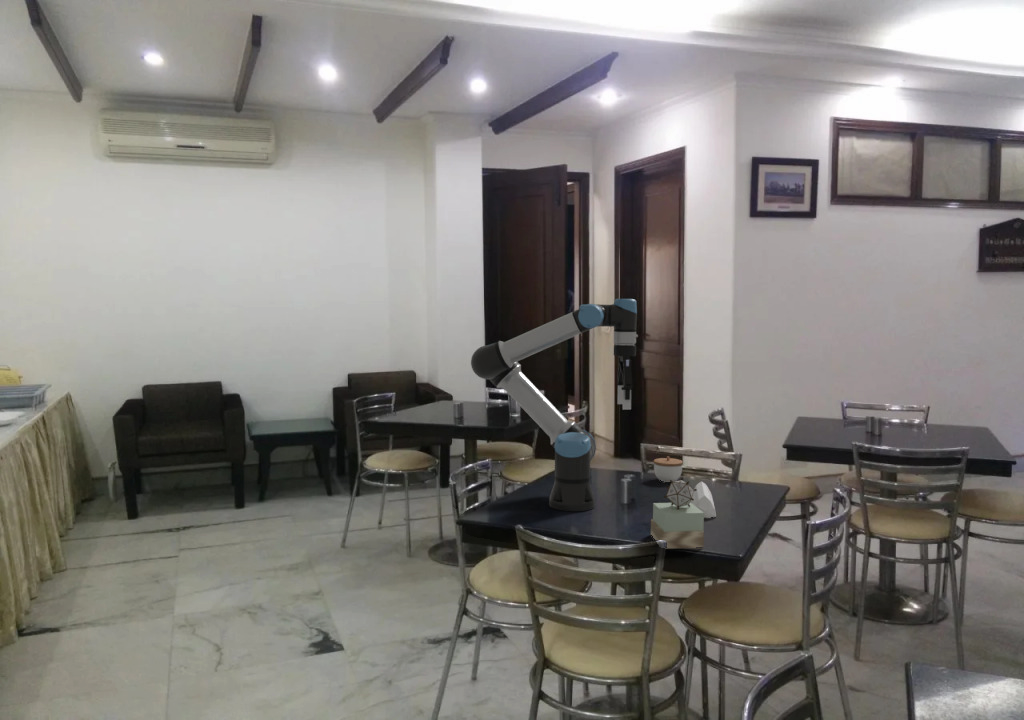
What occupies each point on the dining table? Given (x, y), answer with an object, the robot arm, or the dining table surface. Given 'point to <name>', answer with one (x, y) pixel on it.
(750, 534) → the dining table surface
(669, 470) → the lidded jar
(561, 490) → the robot arm
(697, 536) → the tower base block
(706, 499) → the chamfered grey bar
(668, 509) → the tower top block
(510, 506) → the dining table surface
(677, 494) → the game die
